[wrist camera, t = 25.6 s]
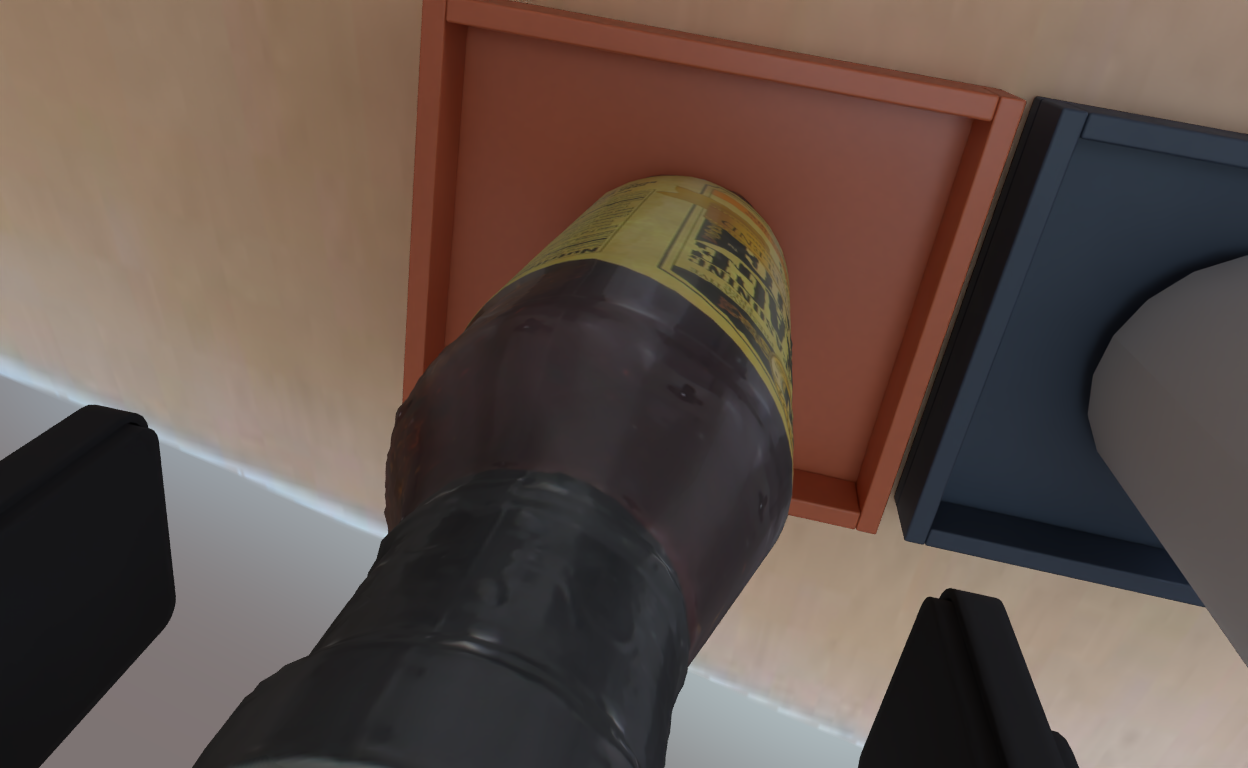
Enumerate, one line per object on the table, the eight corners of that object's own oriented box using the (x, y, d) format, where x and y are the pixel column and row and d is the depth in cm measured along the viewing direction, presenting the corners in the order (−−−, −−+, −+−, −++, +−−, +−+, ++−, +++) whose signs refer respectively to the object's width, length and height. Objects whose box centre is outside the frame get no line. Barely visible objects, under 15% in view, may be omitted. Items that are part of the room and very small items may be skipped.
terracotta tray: (429, 395, 28) (400, 429, 26) (455, -10, 23) (422, -10, 21) (867, 491, 27) (876, 535, 25) (1002, 89, 22) (1027, 100, 20)
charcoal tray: (893, 497, 27) (903, 541, 25) (1034, 95, 22) (1063, 106, 20) (1371, 602, 26) (1426, 657, 24) (1643, 206, 21) (1744, 230, 18)
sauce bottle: (802, 359, 25) (868, 1290, 7) (595, 385, 26) (214, 1216, 8) (771, 130, 22) (751, 669, 5) (544, 172, 24) (-143, 708, 6)
